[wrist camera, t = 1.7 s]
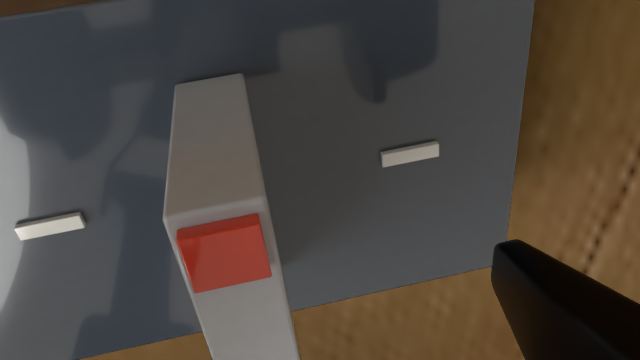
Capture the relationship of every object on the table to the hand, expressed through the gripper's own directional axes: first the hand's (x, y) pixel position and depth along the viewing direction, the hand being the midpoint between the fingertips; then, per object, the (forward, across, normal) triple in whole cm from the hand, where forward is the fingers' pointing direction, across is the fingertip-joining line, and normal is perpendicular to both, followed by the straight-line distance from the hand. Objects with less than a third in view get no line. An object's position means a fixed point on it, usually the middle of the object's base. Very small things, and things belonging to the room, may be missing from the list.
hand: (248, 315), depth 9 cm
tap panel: (+7, 0, 0) cm, 7 cm away
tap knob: (+4, 0, 0) cm, 4 cm away
